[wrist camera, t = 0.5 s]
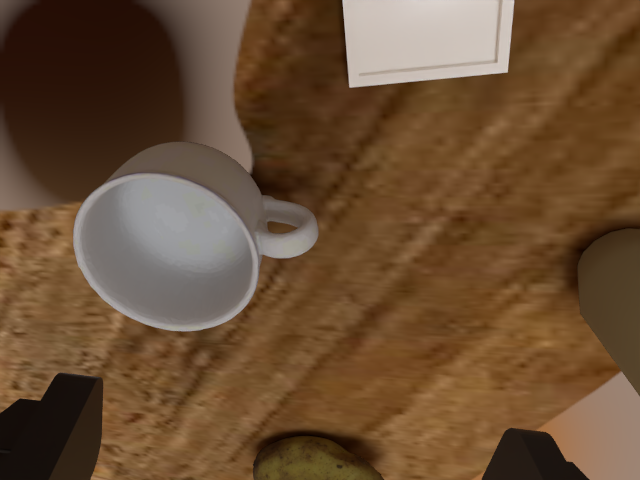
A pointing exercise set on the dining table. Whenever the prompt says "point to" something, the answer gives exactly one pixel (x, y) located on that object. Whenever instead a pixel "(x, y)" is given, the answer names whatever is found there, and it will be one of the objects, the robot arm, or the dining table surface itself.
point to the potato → (310, 461)
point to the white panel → (425, 39)
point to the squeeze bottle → (614, 297)
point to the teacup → (183, 236)
